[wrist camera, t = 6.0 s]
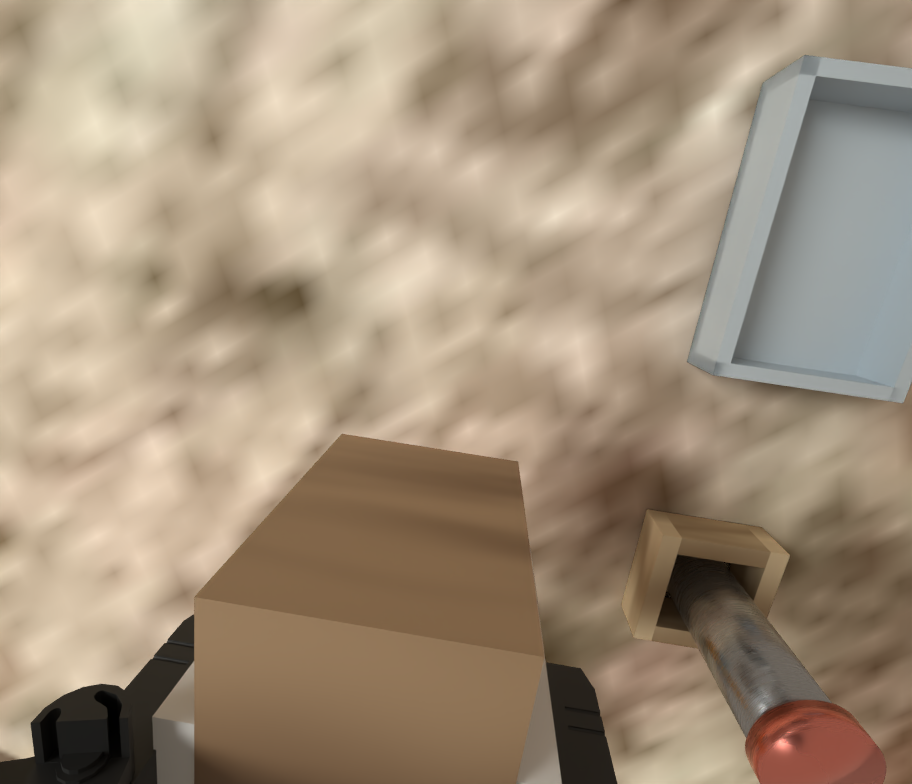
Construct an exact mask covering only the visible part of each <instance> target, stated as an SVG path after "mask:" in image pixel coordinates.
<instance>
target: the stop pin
mask: <svg viewBox="0 0 912 784" xmlns="http://www.w3.org/2000/svg"><path fill="white" fill-rule="evenodd" d="M667 591H668V593H669V594H670V596H671V598H672V600H673V602H674V604H675V606H676V608H677V609H678V611H679V613H680V615H681V617H682V619H683V621H684V623H685V624H686V626H687V628H688V630H689V632H690V634H691V636H692V638H693V639H694V641H695V643H696V645H697V647H698V649H699V651H700V652H701V654H702V656H703V658H704V660H705V662H706V664H707V666H708V667H709V669H710V671H711V673H712V675H713V677H714V679H715V681H716V682H717V684H718V686H719V688H720V690H721V692H722V694H723V696H724V697H725V699H726V701H727V703H728V705H729V707H730V709H731V710H732V712H733V714H734V716H735V718H736V720H737V722H738V724H739V725H740V727H741V729H742V731H743V733H744V735H745V737H746V744H745V750H746V755H747V758H748V761H749V763H750V765H751V767H752V769H753V770H754V772H755V774H756V776H757V778H758V780H759V782H760V784H883V782H884V779H885V775H886V762H885V758H884V756H883V754H882V752H881V750H880V749H879V748H878V746H877V745H876V744H875V742H874V741H873V740H872V739H871V737H870V736H869V735H868V734H867V732H866V731H865V730H864V729H863V727H862V726H861V725H860V724H859V722H858V721H857V720H856V719H855V717H854V716H853V715H852V714H850V713H849V712H848V711H847V710H845V709H844V708H842V707H840V706H838V705H835V704H833V703H832V702H831V701H830V700H829V699H828V697H827V696H826V695H825V693H824V692H823V691H822V690H821V688H820V687H819V686H818V684H817V683H816V682H815V680H814V679H813V678H812V677H811V675H810V674H809V673H808V671H807V670H806V669H805V667H804V666H803V665H802V664H801V662H800V661H799V660H798V658H797V657H796V656H795V654H794V653H793V652H792V651H791V649H790V648H789V647H788V645H787V644H786V643H785V642H784V640H783V639H782V638H781V636H780V635H779V634H778V632H777V631H776V630H775V629H774V627H773V626H772V625H771V623H770V622H769V621H768V619H767V618H766V617H765V616H764V614H763V613H762V612H761V610H760V609H759V608H758V607H757V605H756V604H755V603H754V601H753V600H752V599H751V597H750V596H749V595H748V594H747V592H746V591H745V590H744V588H743V587H742V586H741V584H740V583H739V582H738V581H737V579H736V578H735V577H734V575H733V574H732V573H731V571H730V570H729V569H728V568H727V566H726V565H725V564H724V562H722V561H716V560H709V559H703V558H697V557H691V556H684V555H678V554H677V557H676V560H675V563H674V567H673V570H672V573H671V577H670V580H669V583H668V587H667Z"/></svg>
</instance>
